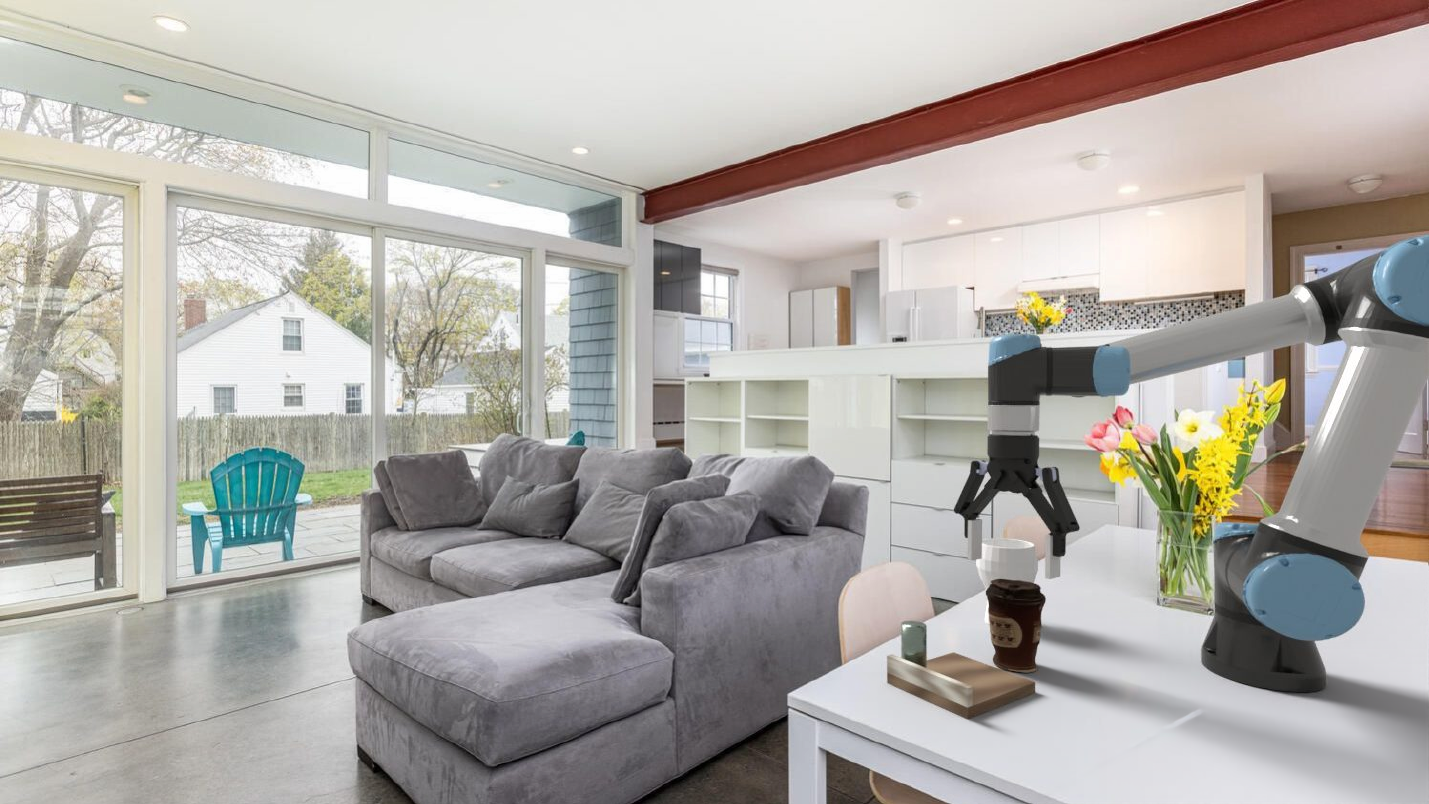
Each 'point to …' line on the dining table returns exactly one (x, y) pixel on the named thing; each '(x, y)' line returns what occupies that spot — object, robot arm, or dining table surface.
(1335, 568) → the robot arm
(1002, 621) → the coffee cup
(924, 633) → the green cylinder
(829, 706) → the dining table surface
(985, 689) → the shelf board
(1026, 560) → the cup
